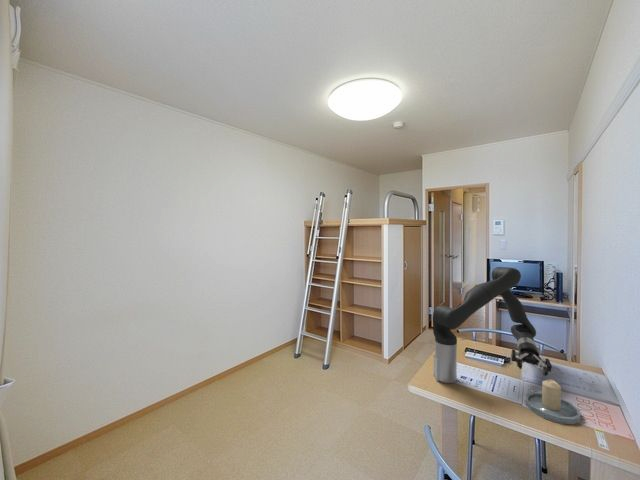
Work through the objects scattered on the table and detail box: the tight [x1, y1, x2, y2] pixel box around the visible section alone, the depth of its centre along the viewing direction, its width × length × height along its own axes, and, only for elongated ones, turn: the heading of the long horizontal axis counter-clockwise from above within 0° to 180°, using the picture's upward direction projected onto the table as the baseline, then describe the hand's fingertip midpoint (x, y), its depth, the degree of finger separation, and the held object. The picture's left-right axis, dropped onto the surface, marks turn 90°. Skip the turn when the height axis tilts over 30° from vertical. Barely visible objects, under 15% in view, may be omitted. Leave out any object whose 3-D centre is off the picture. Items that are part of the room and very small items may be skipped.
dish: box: [524, 391, 582, 425], centre depth 108 cm, size 16×16×2 cm
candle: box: [541, 378, 562, 411], centre depth 108 cm, size 6×6×10 cm
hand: (532, 370), depth 120 cm, fingers open, 8 cm apart
